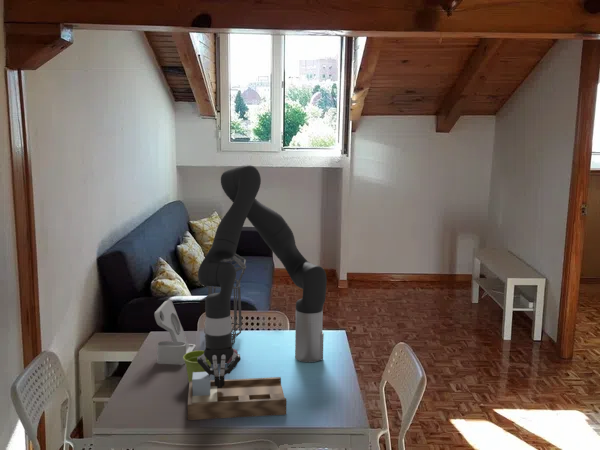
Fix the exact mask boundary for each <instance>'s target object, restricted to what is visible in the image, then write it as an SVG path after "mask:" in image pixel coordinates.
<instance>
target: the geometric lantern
mask: <svg viewBox="0 0 600 450" xmlns="http://www.w3.org/2000/svg"><path fill="white" fill-rule="evenodd" d="M246 260H247V259H245V258H244V257H243V256H240V255H239V254H237V253H235V255H234V256H233V257H232V258H229V259H224V260H221V261H220V262H229V263H231V264H232V263H233V262H235V263H234V264H232V265H233V266H234V267H235V266H236V265H238V266H239V267H235V270H236V273H237V272H238V271H240V270H241V273H240V276H239V279H237V277H236V278H235V282H236V283H235V284H236V286H235V285H234V286H233V289H232V290H233V322H231V325H233V326H232V345H234V344H235V342H236V338H237V337H238V336H239V335H240V334H241V333H242V324H243V323H242V322H243V320H242V299H241V297H242V296H241V280H242V278H243V275H245V271H246V269H247V265H246V263H247V261H246ZM207 287H208V288H207V296H208V295H210V294H213V293H216V289H221V287H214V286H207ZM237 316H238V317H237ZM237 318H238V322H237ZM236 325H238V327H236ZM238 329H239V330H238ZM237 330H238V331H239V332H237ZM204 334H205V329H204Z"/></svg>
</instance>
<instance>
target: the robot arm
mask: <svg viewBox="0 0 600 450" xmlns="http://www.w3.org/2000/svg"><path fill="white" fill-rule="evenodd" d="M261 181H262V178H261V174H260V172H259V170H258V169H257V167H256V166H254V165H252V164H245V165H244V164H243V165H241V166H237V167H234V168H230V169H227V170H226V171H224V172H223V173H222V174H221V176H220V186H221V188H222V190H223V192H224V193H225V195H226V197H228V199H229V200H230V201H232V204H231V206H230V208H229V209H228V210H227V212H226V213H225V214H224V216H223V217H222V219H221V221H220V222H219V224H218V226H217V228H216V232H215V234H214V238H213V242H212V244H211V247H210V249H209V250H208V252H207V254H206V255H205V257H204V258H203V260H202V261H201V263H200V265H199V268H198V270H197V278H198V281H199V283H200V284H201V285H203V286H204V287H205V286H206V287H208V286H211V287H221V288H220V291H219V292H215V293H214V292H212V294H210V295H208V294H207V296H206V297H205V302H204V304H205V305H204V306H205V320H204V330H205V333H204V337H205V339H204V341H205V348H204V350H203V351H204V354H203V355H201V356H198V358H197V362H198V363H199V364H200V366H201V367H202V368H203V369H204V370H205V371H206V372H207V373H208V374H209V375H210V376H213V377H214V380H215V386H217V388H222V386H224V384H225V381H224V380H225V376H226V375H229V374H231V373H232V371H233V370H234V369H235V368H236V366H237V365H238V364H239V363H240V361H241V360H242V359H241V354H239V353H238V354H236V353H235V352H234V350H233V348H234V347H233V344H232V338H233V337H232V336H233V335H232V334H233V332H232V329H233V326H232V325H233V324H231V323H232V318H231V298H232V294H233V290H234V289H233V286H234V287H235V282H236V281H235V280H236V279H237V272H236V270H237V269H235V268H236V267H235V266H233V265H234V264H232V263H231V262H229V261H226V262H225V261H224V262H223V261H221V260H225V259H226V260H229V258H231V259H233V258H232V257H233V256H234V255H235V254H237V248H238V246H239V241H240V237H241V233H242V230H243V228H244V224H245V221H246V220H248V221H249V222H250V224H251V225H252V226H253V227H254V229H255V230H256V231H257V233H258V234H259V236H260V237H261V239H262V240H263V241H264V243H265V244H266V245H267V247H269V248H270V250H271V251H272V252H273V254H274V255H275V256H276V258H277V259H279V261H280V263H281V264H282V265H283V267H284V268H285V270H286V272H287V273H288V275H289V277H290V279H291V281H292V283H294V285H295V286H296V287H298V288H299V289H302V298H300V299H297V300H296V302H295V333H294V334H295V341H294V342H295V343H294V345H295V347H294V348H295V349H294V357H295V359H296V360H297V361H299V362H302V363H315V362H319V361H324V335H325V334H324V332H323V318H324V317H323V315H324V314H323V312H324V310H323V309H324V305H325V303H326V302H325V301H326V297H327V296H326V295H327V279H328V278H327V273H326V270H325V269H324V268H323V267H322V266H321V265H318V264H315V263H312V262H310V261H308V260H307V258H305V257H304V256H303V254H302V253H301V252H300V250H299V249H298V247H297V245H296V240H295V236H294V233H293V231H292V228H291V227H290V226H289V224H288V223H287V222H286V219H284V217H283V216H282V215H281V214H279V213H278V212H277V211H275V210H274V209H272V208H271V207H269V206H266V205H265V204H263V203H262V202H261V201H259V200H257V198H256V197H257V195H258V192H259V190H260V187H261ZM235 256H236V255H235ZM220 261H221V262H220ZM235 278H236V279H235ZM231 356H233V357H232V361H231V362H230V363H229V364H228V365H227V366H226V364H227V362H228V361H229V359H230V358H231ZM205 357H206V358H207V359H208V360H209V362H210V363H211V365H212V366H213V368H212V366H211V367H210V366H209V365H208V364H207V363H206V358H205ZM219 365H220V366H219ZM219 367H220V368H219ZM219 380H220V382H219Z"/></svg>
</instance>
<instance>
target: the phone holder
mask: <svg viewBox="0 0 600 450" xmlns="http://www.w3.org/2000/svg"><path fill="white" fill-rule="evenodd" d="M154 320H155V322H156V324H157V325H158V326H159V327H160V328H161V329H164V330H165V331H167V332H168V334H169V335H170V338H171V341H169V340H168V341H165V340H163V341H159V342H157V344H156V364H159V365H186V364H185V360H184V359H183V356H184V355H185V354H186V353H188V352H192V351H195V350H196V344H193V343H189V341H188V338H187V337H186V333H185V331H184V328H183V326H182V324H181V320H180V319H179V316H178V313H177V311H176V308H175V306H174V303H173V301H172V300H171V299H168V300H165V301H164V302H163V303H162V304H161V305H160V306H159V307H158V308H157V309H156V311H154Z"/></svg>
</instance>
